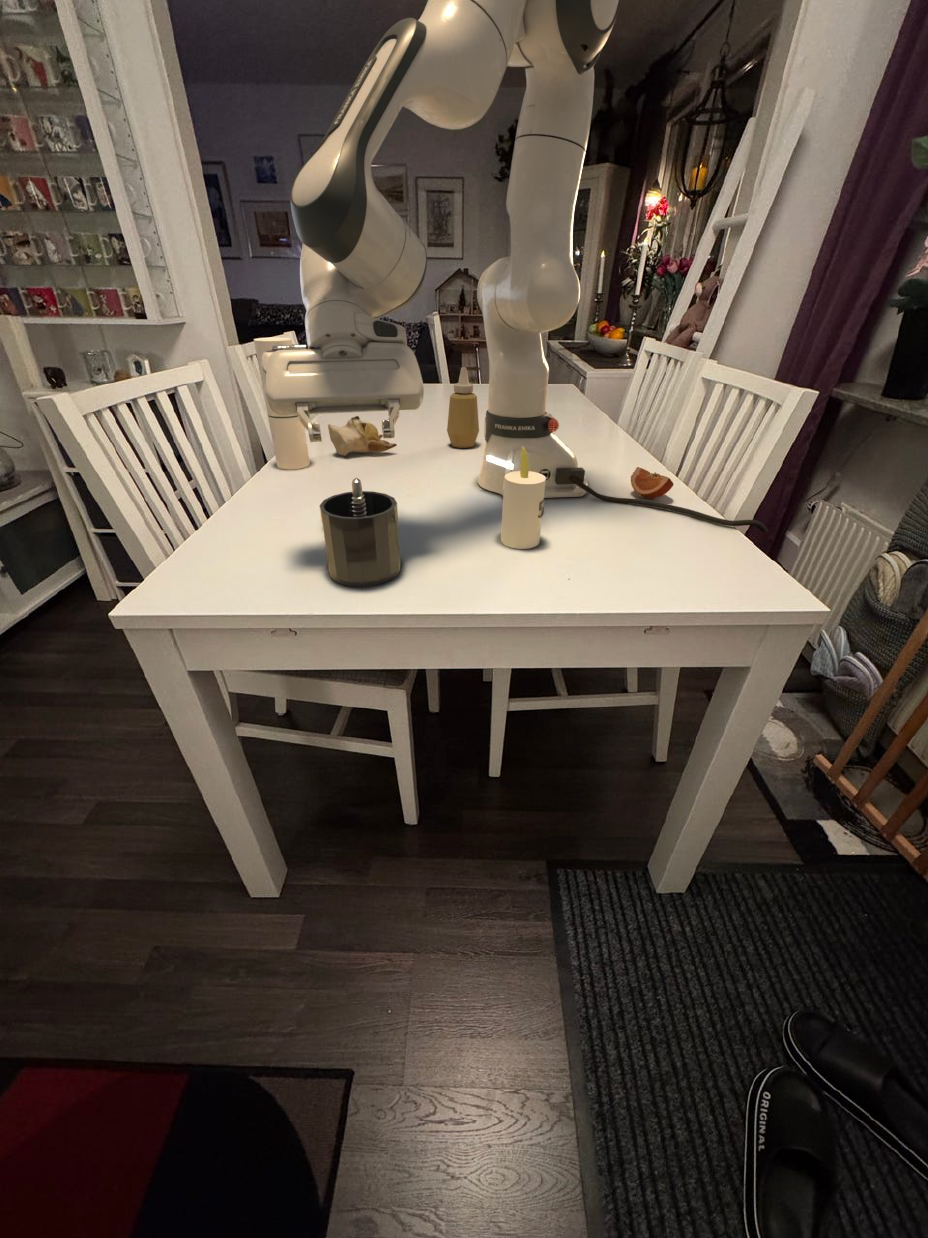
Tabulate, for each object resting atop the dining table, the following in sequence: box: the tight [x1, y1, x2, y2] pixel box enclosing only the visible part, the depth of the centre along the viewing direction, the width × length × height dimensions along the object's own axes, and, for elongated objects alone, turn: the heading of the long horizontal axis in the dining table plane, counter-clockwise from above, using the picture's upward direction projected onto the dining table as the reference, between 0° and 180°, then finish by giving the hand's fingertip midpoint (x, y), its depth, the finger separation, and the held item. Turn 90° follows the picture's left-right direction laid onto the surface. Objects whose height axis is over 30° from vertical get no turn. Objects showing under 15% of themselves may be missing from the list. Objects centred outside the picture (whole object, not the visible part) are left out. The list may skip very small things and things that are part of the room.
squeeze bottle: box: [446, 366, 480, 449], centre depth 127 cm, size 8×8×18 cm
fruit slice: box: [630, 466, 674, 500], centre depth 101 cm, size 8×7×5 cm
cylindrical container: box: [253, 336, 311, 470], centre depth 110 cm, size 7×7×25 cm
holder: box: [318, 490, 402, 588], centre depth 73 cm, size 10×10×10 cm
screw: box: [351, 477, 367, 517], centre depth 72 cm, size 13×5×5 cm
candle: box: [500, 446, 546, 550], centre depth 81 cm, size 6×6×15 cm
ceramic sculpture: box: [327, 415, 398, 457], centre depth 123 cm, size 11×9×15 cm
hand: (352, 437), depth 68 cm, fingers open, 8 cm apart
